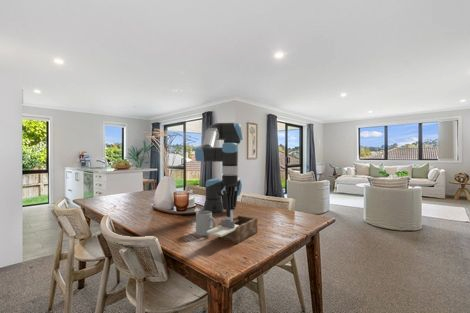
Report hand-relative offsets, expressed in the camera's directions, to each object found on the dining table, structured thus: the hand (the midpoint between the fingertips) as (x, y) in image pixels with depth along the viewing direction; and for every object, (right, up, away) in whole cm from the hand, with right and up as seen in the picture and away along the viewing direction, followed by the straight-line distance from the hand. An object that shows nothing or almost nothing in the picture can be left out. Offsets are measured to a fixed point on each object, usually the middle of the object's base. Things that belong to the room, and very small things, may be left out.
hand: (229, 222), depth 111 cm
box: (+4, -8, +7) cm, 11 cm away
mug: (-12, -8, +9) cm, 17 cm away
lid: (-2, -2, -3) cm, 5 cm away
